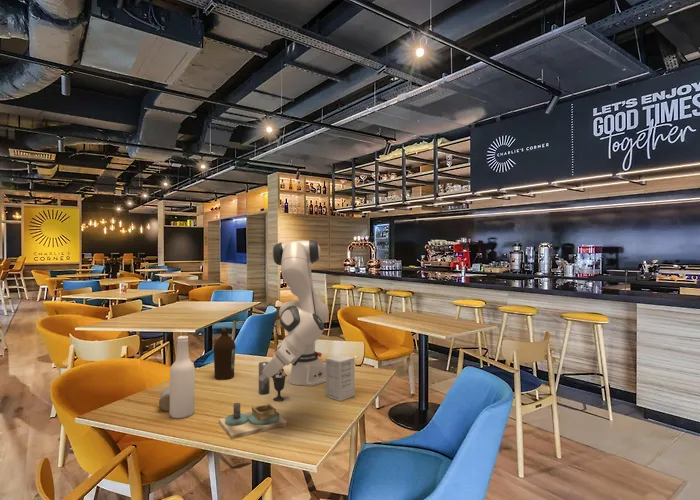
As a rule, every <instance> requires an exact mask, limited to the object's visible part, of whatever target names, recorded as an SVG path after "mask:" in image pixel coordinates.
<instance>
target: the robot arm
mask: <svg viewBox="0 0 700 500" xmlns="http://www.w3.org/2000/svg"><path fill="white" fill-rule="evenodd" d="M321 253H322V252H321V246H320V245H319V242H318V241H317V240H313V239H308V240H306V239H305V240H293V241H292V240H291V241H287V242H286V241H285V242H278V243H275V245H273V249H272V253H271V255H272V256H271V257H272V259H273V262H274V263H275V264H276V265H278V266H280V271H281V276H282V280H283V281H284V283H286V284H287V286H289V290H290V292H291V294H292V295H294V296H295V297H297V299H298V300H292V301H291V300H290V301H285V302H283V303H282V304H281V305H280V307H279V310H278V311H279V312H278V315H279V324H280V326H281V327H282V329H284V330H285V331H286V332H287V335H286V336H285V337H284V338H283V339H282V340H281V341H280V342H279V343H278V344H277V345H276V347H277V348H276V351H275V352H274V355H273V356H272V358H271V359H270V360H269V361H268V362H269V363H268V364H267V365H266V367H265V368H264V369H263V371H262V373H263V374H262V375H261V376H260V377H259V376H258V380H259V379H260V380H261V381H263V380H264V379H265V378H266V377H267V378H270V379H272V378H271V377H272V376H273V375H275V374H276V373H277V372H278V371H280V370H281V369H284V368H285V367H286V366H290V365H291V370H290V375H289V379H288V383H289V384H292V385H297V386H308V387H313V386H317V385H320V384H324V383H326V362H324V361H322V360H321V359H319V358H320V357H322V356H323V353H322V352H318V351H316V348H315V347H316V344H315V343H316V341H317V340H318V339H319V338H320V337H321V335H322V334H323V333H324V330H325V323H326V322H327V320H328V318H329V314H330V312H329V308H328V306H327V305H326V303H324V302H322V300H320V298H319V297H318V295H317V293H316V291H315V288H314V284H313V277H312V276H313V275H312V274H313V273H312V267H311V264H314V263H317V262H318V260H319V259H320V257H321Z"/></svg>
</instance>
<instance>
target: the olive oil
mask: <svg viewBox="0 0 700 500" xmlns="http://www.w3.org/2000/svg"><path fill="white" fill-rule="evenodd" d="M235 360H236V342H235V340H234V339H233V338H232V337H230V335H229V327H226V326H225V327H221V333H220V337H219V338H218V339H216V341H215V342H214V345H213V367H214V370H213V371H214V379H215V380H217V381H226V380H232V379H233V378H234V377H235V365H236V364H235V363H236V362H235Z"/></svg>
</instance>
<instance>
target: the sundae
mask: <svg viewBox="0 0 700 500" xmlns="http://www.w3.org/2000/svg"><path fill="white" fill-rule="evenodd" d="M287 376H288V374H286V372H285V368H282V369H281V370H280V371H278V372H277V373H276V374H275V375H273V376H272V377H271V378H270V379H272V382H273V387H274V390H275V391H276V392H277V396H276V397H274V398H273V401H274V402H283V401H285V400H286V398H285V397H282V395H281V391H283V389H284V388H285V382H286V377H287Z"/></svg>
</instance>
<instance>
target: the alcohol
mask: <svg viewBox="0 0 700 500" xmlns="http://www.w3.org/2000/svg"><path fill="white" fill-rule="evenodd" d="M176 342H177V345H176V354H175V355H176V356H175V361H174V362H173V363H172V364H171V367H170V370H169V387H170V411H169V416H170V418H172V419H178V420H179V419H181V420H182V419H185V418H189V417H191V416H192V415H193V414H194V413H195V392H196V391H195V384H196V383H195V382H196V381H195V379H196V378H195V376H196V374H195V373H196V372H195V371H196V370H195V369H196V368H195V364H194V363H193V362H192V361H191V359H190V352H189V336H188V335H179V336H177V340H176Z"/></svg>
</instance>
